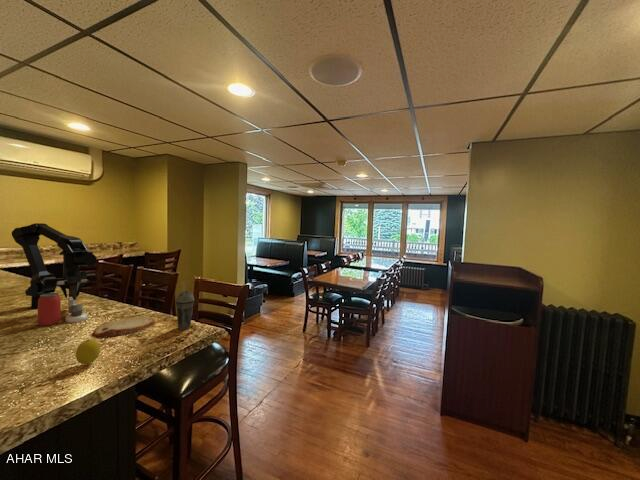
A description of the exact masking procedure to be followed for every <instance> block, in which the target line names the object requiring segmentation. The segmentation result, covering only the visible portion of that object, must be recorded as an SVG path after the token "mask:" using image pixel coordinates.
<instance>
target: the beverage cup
mask: <svg viewBox="0 0 640 480" xmlns="http://www.w3.org/2000/svg"><path fill="white" fill-rule="evenodd" d="M182 287H183V288H182V289H183V291H182V292H180V293H179V294H177V297H176V299H175V305H176V306H175V307H176V317H177V320H176V321H177V327H178V328H177V329H178V330H181V331H184V330H185V331H186V330H189V329H190V328H191V324H192V315H193V308H194V305H195V297H194V294H193V293H191V291H186V289H185V281H182Z"/></svg>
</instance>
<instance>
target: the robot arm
mask: <svg viewBox="0 0 640 480" xmlns="http://www.w3.org/2000/svg"><path fill="white" fill-rule="evenodd" d="M11 236H12V238H13V241H14V242H15V243H16V244H17V245H19V246H21V248H22V249H23V252H24V256H25V258H26V261H27V262H28V263H27V264H28V266H29V269H30V271H31V275H32V276H31V279H30V281H29V282H30V286H28V287H27V289H26V290H25V291H24V293H25V296H27V297H31V302H30V303H31V304H30V306H27V309H38V300H39V298H40V295H42V294H47V293H56V292H55V291H56V288H57V287H60V289H61V291H62V294H63V296H64V297H65V299H68V293H67V286H66V285H67V284H74V283H76V286H77V298H78V297H79V295H80V292H81V291H82V288H83V287H84V286H85V284H86V285H87V284H88V281H89V282H95V281H96V282H97V281H99V275H97V274H96V273H88V272H87V271H86V270H83V271H81V270H80V269H81V268H80V267H81V266H85V267H86V266H87V267H92V266H94V265H95V264H96V263H97V260H98V259H97V256H96V255H95V254H93V252H94V251H90V250H89V249H88V247H86V245H85V243H84V242H83V239H81V238H79V237H77V236H73V235H72V236H71V235H67V234H65V233H63V232H61V231H59V230H58V229H55V228H53V227H51V226H49V224H48V223H47V224H46V223H43V222H42V223H40V222H39V223H38V222H36V223H31V224H29V225H25V226H21V227H15V228H14V229H13V230H12V231H11ZM40 236H43V237H44V238H47V239H49V240H51V241H53V242H55V243H56V244H57V245H56V246H57V247H58V248H60V249H61V250H62V251H60V252H59V253H58V254H59V256H62V257H63V258H62V259H63V260H62V265H63V266H62V267H63V268H62V269H63V271H62V274H63V277H61V278H60V277H58V278H56V274H55V273H50V272H49V271H48V270H47V268H46V264H45V262H44V259H43V256H42V253H41V251H40V248H39V245H38V243H39V241H40ZM65 283H67V284H65Z"/></svg>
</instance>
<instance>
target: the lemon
mask: <svg viewBox="0 0 640 480" xmlns="http://www.w3.org/2000/svg"><path fill="white" fill-rule="evenodd" d="M100 353H101V347H100V344H99V342H98V341H96V340H94V339H90V338H88V339H86V340H84V341H83V342H81V343H80V344H79V345H78V347H76V351H75V359H76V361H77V362H78V363H80V364H81V365H86V366H89V365H90V364H92V363H93V362H95V361H96V360H97V359H98V358H99V357H100V356H99V355H100Z"/></svg>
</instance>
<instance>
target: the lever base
mask: <svg viewBox="0 0 640 480" xmlns="http://www.w3.org/2000/svg"><path fill="white" fill-rule="evenodd" d="M87 320H88V313H87V312H82V315H79V316H71V313H69V314H67V315H66V316H65V323H68V324H74V323H76V324H77V323H81V322H84V321H87Z"/></svg>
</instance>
